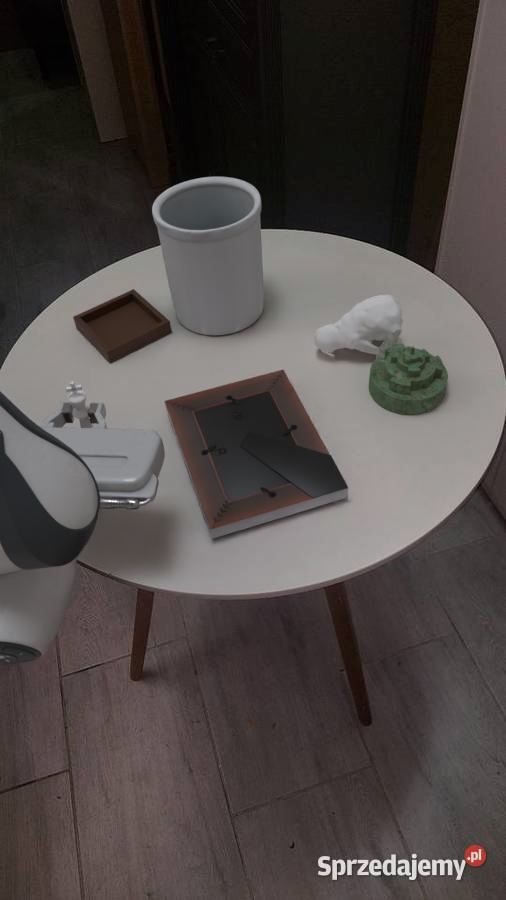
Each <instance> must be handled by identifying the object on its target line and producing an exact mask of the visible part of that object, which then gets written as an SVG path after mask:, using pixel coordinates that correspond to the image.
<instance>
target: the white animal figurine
mask: <svg viewBox="0 0 506 900" xmlns="http://www.w3.org/2000/svg"><path fill="white" fill-rule="evenodd" d="M402 314H403V313H402V309H401V306H400V303H399V301H398V299H397V298H396V297H395V296H394V295H392V294H379V295H374V296H371V297H367V298H366V299H364V300H363V301H360V302H358V303H357V304H355V305H354V306H352V308H351V309H350V310H349V311H348V312H347V313H344V314H343V315H342V316H341V318H339V319H337V321H336V322H333V323H329V324H325V325H323V326H320V327H319V328H317V329H316V331H315V332H314V336H313V337H314V338H313V340H314V345H315V347H316V348H317V349H319V350H320V351H321V352H322V353H323V354H326V355H328V356H329V357H330V358H332V359H334V357H335V354H337V353H335V350H339V349H344V348H345V349H348V350H357V351H359V352H362V353H366V354H371V355H375V359H376V358H377V357H379V356H380V355H382V354H383V353H385V350H386V349H387V348H389V347H391V346H393V345H397V344H398V341H399V337H400V335H401V333H402V332H403V329H402V327H403V315H402ZM374 341H375V342H376V341H377V342H382V344H381V345H380V346H379V347H378V346H376V344H373V342H374Z"/></svg>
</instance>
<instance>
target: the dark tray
mask: <svg viewBox="0 0 506 900" xmlns="http://www.w3.org/2000/svg"><path fill="white" fill-rule="evenodd" d="M72 319H73V321H74V325H75V328H76V330H77V331H79V332H80V333H81V335H83V337H84V338H85V339H86V340H87V341H88V342H89V343H90V344H91V345H92V346H93V348H95V349H96V350H97V351H98V353H100V355H101V356H103V357H104V358H105V360H106V361H108V363H109V364H112V363H113V362H115V361H117V360H120V359H122V358H123V357H125V356H127V355H130V354H132V353H134V352H136V351H138V350H140V349H142V348H144V347H146V346H148V345H150V344H152V343H154V342H156V341H157V340H160V339H161V338H164V337H166V336H168V335H170V334H172V333H173V331H172V324H171V321H170V320H169V319H168V318H167V317H166V316H165V315H164V314H162V313H161V312H160V310H158V309H157V308H155V306H154V305H152V304H151V303H150V302H149V301H148V300H146V299H145V298H144V296H142V295H141V294H140V293H139V292H138V291H136V290H135V289H134V288H132V289H130V290H128V291H126V292H124V293H122V294H120V295H117V296H115V297H113V298H111V299H109V300H107V301H105V302H102V303H100V304H98V305H96V306H94V307H91V308H89V309H87V310H84V311H83V312H80V313H78V314H76V315H75V316H73V317H72Z"/></svg>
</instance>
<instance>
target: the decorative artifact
mask: <svg viewBox="0 0 506 900" xmlns="http://www.w3.org/2000/svg"><path fill="white" fill-rule="evenodd" d="M448 381H449V374H448V370H447V368H446V366H445V365H444V363H443V361H442V358H441V357H440V355H434V354H431V353H429V351H427V350H426V349H424V348H422V349H420V348H417V347H416V346H413V345H412V346H410V345H409V346H405V344H404V343H396V345H393V346H391V347H389V348H387V349H386V350H385V353H383V354H382V355H380V356H379V357H377V358H376V357H375V359H374V361H372V363H371V366H370V368H369V379H368V391H369V395H370V396H371V398H372V399H373V400H374V402H375V403H377V404H378V405H379V406H381V407H382V408H383V409H385V410H388V411H391V412H392V413H396V414H400V413H401V414H400V415H420V414H423V413H422V412H424V413H427V412H429V411H428V410H430V411H432V410H433V409H435V408H436V407H438V406H439V405H440V404H441V403H442V402H443V400H444V398H443V397H445V393H446V389H447V385H448ZM442 399H443V400H442ZM440 402H441V403H440ZM439 403H440V404H439ZM438 404H439V405H438ZM437 405H438V406H437ZM431 409H432V410H431ZM426 411H427V412H426ZM417 413H418V414H417ZM419 413H420V414H419Z"/></svg>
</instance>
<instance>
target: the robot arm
mask: <svg viewBox="0 0 506 900" xmlns="http://www.w3.org/2000/svg"><path fill="white" fill-rule="evenodd" d="M88 406H89V407H90V408H88V411H87V414H88V417H89V420H90V423H91V424H92V425H93V426H92V428H81V427H64V426H65V425H66V424H73V423H74V421H75V418H74V417H73V415H72V411H73V409H74V407H73V405H72V404H70V402H69V401H67V402H65V401H64V402H63V401H60V402H59V404H58V407H57V408H56V411H54V412H53V413H52V414H50V415H49V416H48V417H46V418H45V419H44V420H43V421H41V423H40V425H38V424H37V423H36V422H34V421H33V420H32V419H31V418H30V417H28V416H27V415H26V414H25V413H24V412H23V411H22V410H20V408H19V407H18V406H16V405H15V404H14V403H13V402H12V401H11V400H10V399H9V398H8V396H6V395H5V394H4V393H3V392H2V391H1V390H0V665H3V666H7V665H8V666H9V665H17V664H18V665H19V664H23V663H28V662H32V661H35V660H37V659H40V658H42V657H43V656H44V655H45V654H46V653H47V651H49V649H50V648H51V646H52V644H53V643H54V641H55V639H56V638H57V635H58V633H59V631H60V629H61V626H62V623H63V621H64V618H65V617H66V613H67V610H68V607H69V605H70V601H71V599H72V598H71V597H72V595H73V592H74V588H75V584H76V580H77V562H78V559H79V557H80V556H81V554H82V552H83V551H84V549H85V547H86V545H87V544H88V542H89V541H90V539H91V537H92V535H93V533H94V531H95V528H96V526H97V524H98V520H99V515H100V510H101V509H103V510H115V509H125V510H129V511H133V510H139V509H140V507H143V506H146V505H148V504H150V503H152V502H153V501H154V500H155V499H156V496H157V494H158V488H159V483H160V482H159V476H160V474H161V471H162V468H163V465H164V461H165V459H166V458H165V456H166V451H165V446H164V441H163V439H162V437H161V435H160V434H159V433H158V432H157V431H156V430H154V429H133V428H131V429H129V428H128V429H127V428H126V429H125V428H108V426H107V423H106V420H105V419H106V417H107V409H106V406H105V403H103V402H90V403H89V405H88Z"/></svg>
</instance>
